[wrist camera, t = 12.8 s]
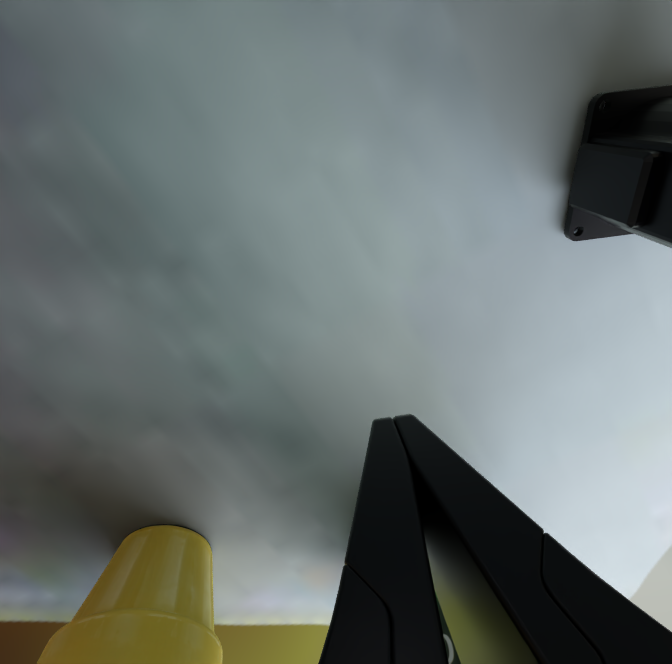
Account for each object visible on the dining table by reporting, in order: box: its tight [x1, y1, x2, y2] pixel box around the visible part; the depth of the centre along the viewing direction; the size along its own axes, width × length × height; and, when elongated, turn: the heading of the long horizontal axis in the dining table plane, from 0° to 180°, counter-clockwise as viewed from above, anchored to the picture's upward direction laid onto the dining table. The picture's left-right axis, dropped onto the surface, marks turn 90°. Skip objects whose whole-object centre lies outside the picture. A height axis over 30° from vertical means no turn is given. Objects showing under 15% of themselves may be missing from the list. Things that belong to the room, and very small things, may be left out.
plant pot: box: [37, 525, 222, 664], centre depth 26 cm, size 10×10×10 cm
